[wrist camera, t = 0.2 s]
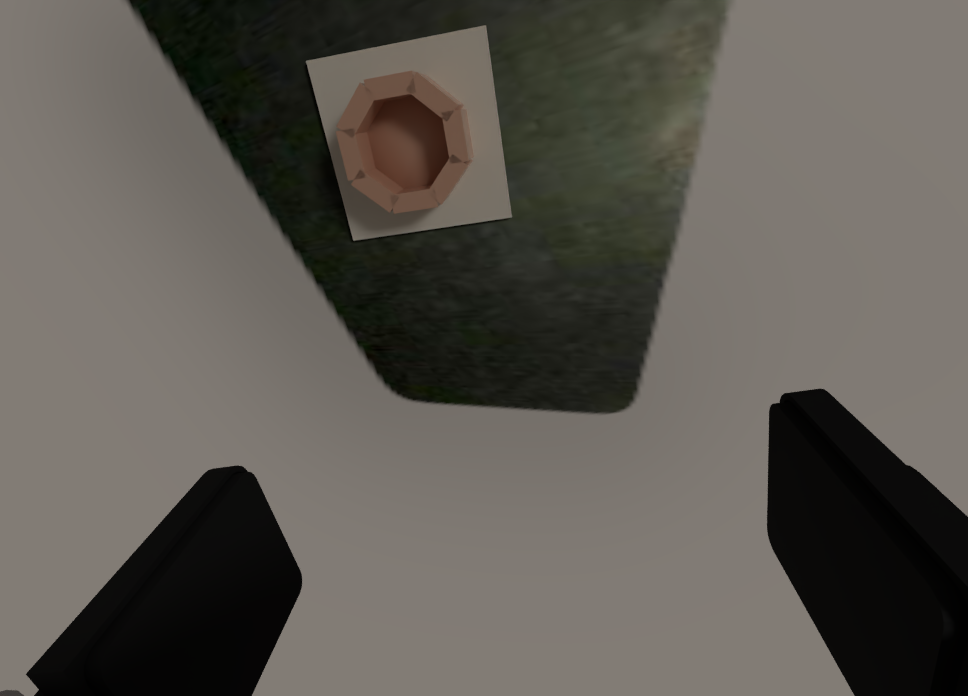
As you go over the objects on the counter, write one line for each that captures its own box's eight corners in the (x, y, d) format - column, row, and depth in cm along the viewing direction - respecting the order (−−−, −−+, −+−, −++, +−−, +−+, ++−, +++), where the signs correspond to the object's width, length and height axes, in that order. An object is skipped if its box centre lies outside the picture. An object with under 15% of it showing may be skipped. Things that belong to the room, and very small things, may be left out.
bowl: (343, 89, 34) (324, 87, 31) (460, 67, 33) (453, 62, 30) (372, 210, 38) (358, 219, 35) (479, 193, 37) (475, 201, 33)
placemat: (308, 61, 34) (306, 61, 34) (486, 26, 33) (485, 25, 32) (354, 239, 39) (353, 240, 39) (511, 216, 38) (511, 217, 37)
